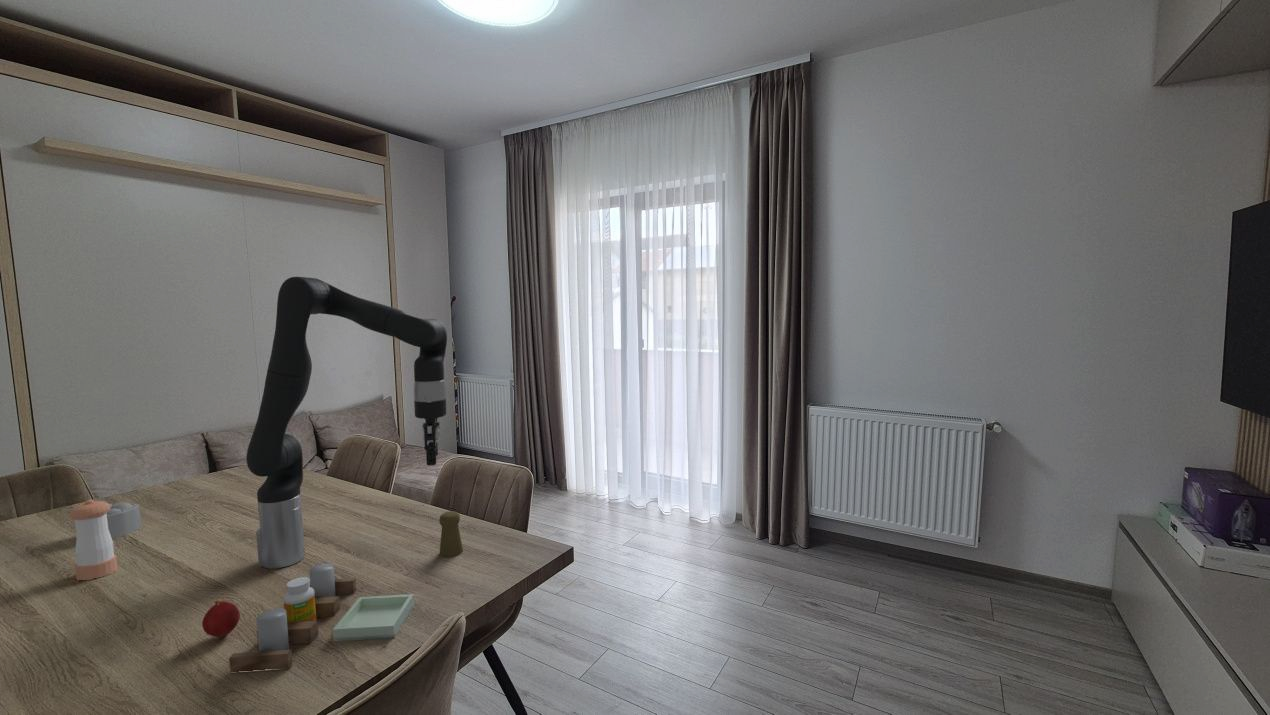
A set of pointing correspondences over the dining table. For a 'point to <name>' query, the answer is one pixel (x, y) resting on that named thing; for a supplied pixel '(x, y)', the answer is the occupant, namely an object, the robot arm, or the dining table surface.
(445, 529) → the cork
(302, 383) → the robot arm
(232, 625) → the onion
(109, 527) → the grey egg carton
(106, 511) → the salt shaker
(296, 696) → the dining table surface
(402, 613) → the tray
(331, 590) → the cylinder
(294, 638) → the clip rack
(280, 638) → the front canister
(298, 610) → the supplement bottle
